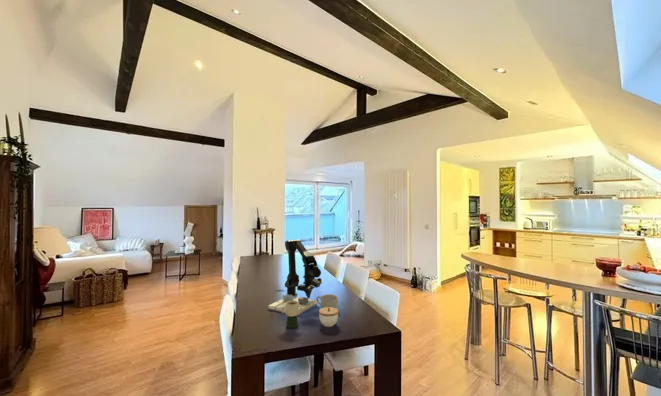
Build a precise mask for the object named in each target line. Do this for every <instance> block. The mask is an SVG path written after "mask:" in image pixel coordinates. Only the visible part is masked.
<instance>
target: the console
mask: <svg viewBox="0 0 661 396" xmlns="http://www.w3.org/2000/svg"><path fill="white" fill-rule="evenodd" d="M298 298H300V297H298V296H293V300H291V301H298ZM286 302H287V301H284V300H283V298H282V299H280V300H277V301H275V302H273V303H270V304H269V305H268V310H269V311H272V312H273V311H274V312H277V313H282V307H285V306H286ZM299 305H302V304H299ZM317 305H318V302H317V301H316V299H315V300H313V299H310V298H308V303H307V304H305V305H304V304H303V305H302V311H299V313H298V315H296V316H297V317H299V316H300V315H301V314H304V313H305V312H307V311H308V310H310V309H312V308H314V307H315V306H317ZM299 310H300V307H299ZM284 311H286V308H284Z"/></svg>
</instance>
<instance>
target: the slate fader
mask: <svg viewBox="0 0 661 396" xmlns="http://www.w3.org/2000/svg"><path fill="white" fill-rule="evenodd" d="M282 299H283V300H284V301H291V300H293V295H289V294H287V293H286V294H284V295H283V296H282Z"/></svg>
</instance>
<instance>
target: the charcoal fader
mask: <svg viewBox="0 0 661 396" xmlns="http://www.w3.org/2000/svg"><path fill="white" fill-rule="evenodd" d="M308 299H309V298H307V297H306V296H305V297H304V296H301V297H299V298H298V302H299V304H302V305H303V304H304V305H305V304H307V303H308Z"/></svg>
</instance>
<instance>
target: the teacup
mask: <svg viewBox="0 0 661 396" xmlns="http://www.w3.org/2000/svg"><path fill="white" fill-rule="evenodd" d="M319 299H320V300H319ZM338 299H339V297H338V296H337V295H335V294H331V293H330V294H328V293H327V294H324V295H321V296H320V295H319V296H317V297H316V299H315V301H317V304H319V305H320V307H321V308H325V307H332V308H336V309H338V304H339V300H338Z"/></svg>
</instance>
